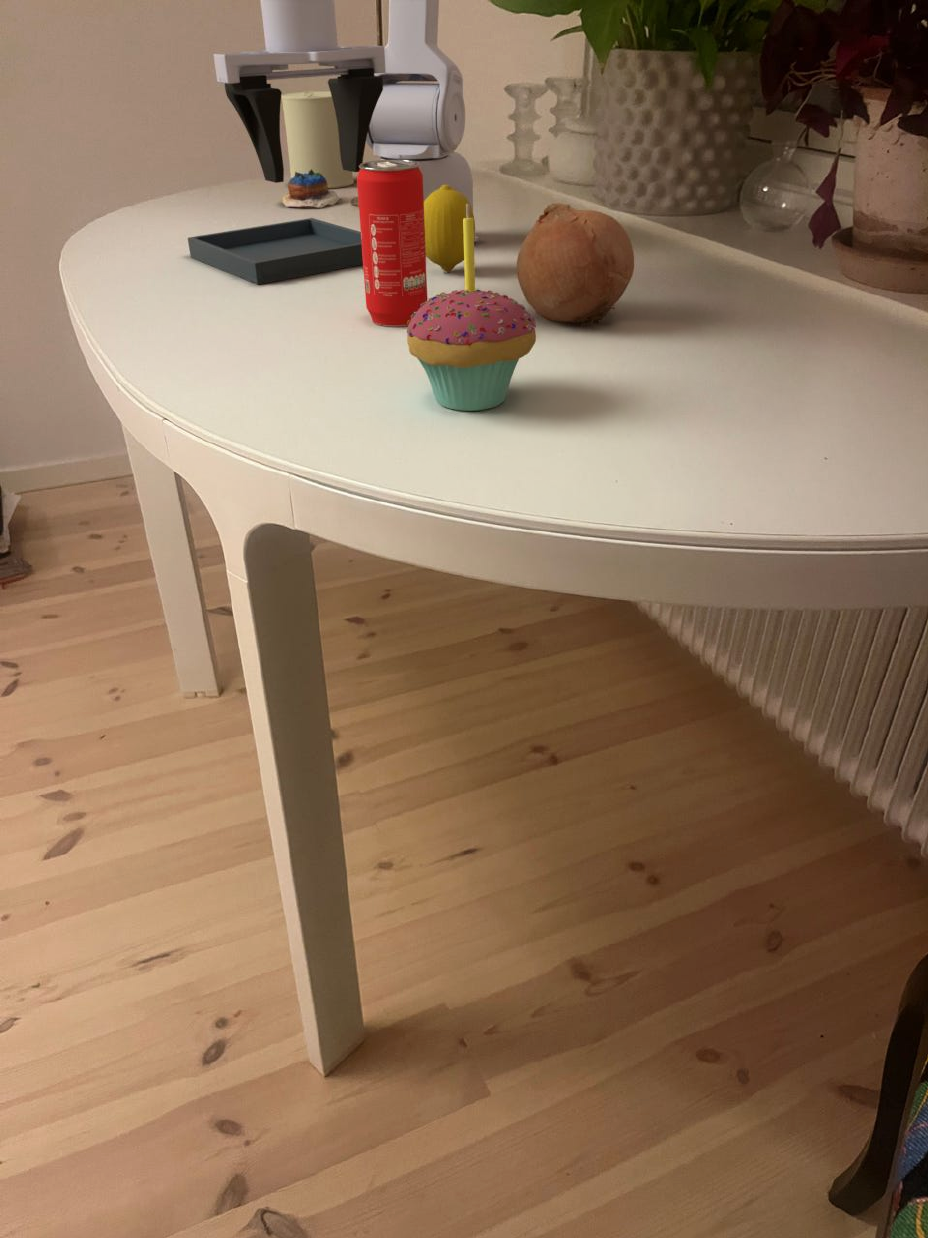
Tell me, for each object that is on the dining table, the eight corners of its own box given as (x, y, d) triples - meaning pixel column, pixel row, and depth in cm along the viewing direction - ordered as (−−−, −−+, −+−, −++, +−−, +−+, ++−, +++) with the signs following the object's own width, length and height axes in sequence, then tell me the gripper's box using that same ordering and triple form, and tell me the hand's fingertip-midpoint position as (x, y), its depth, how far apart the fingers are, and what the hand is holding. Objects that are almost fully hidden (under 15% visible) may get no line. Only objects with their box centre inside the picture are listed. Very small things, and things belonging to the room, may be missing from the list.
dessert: (290, 190, 129) (309, 152, 126) (330, 220, 131) (351, 183, 127) (269, 206, 123) (289, 166, 120) (312, 237, 125) (333, 199, 121)
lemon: (469, 279, 91) (468, 189, 86) (414, 278, 92) (410, 188, 87) (480, 265, 95) (479, 179, 91) (427, 264, 96) (424, 178, 92)
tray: (313, 236, 108) (312, 217, 107) (388, 259, 98) (387, 239, 97) (190, 257, 101) (187, 237, 100) (257, 284, 91) (254, 263, 90)
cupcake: (408, 380, 68) (398, 199, 61) (525, 374, 68) (529, 195, 61) (412, 426, 60) (402, 226, 54) (544, 419, 61) (550, 221, 54)
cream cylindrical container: (282, 188, 135) (271, 93, 129) (301, 178, 143) (292, 87, 136) (344, 189, 134) (336, 92, 127) (360, 178, 141) (354, 87, 135)
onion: (528, 351, 82) (483, 237, 79) (620, 307, 84) (580, 194, 81) (569, 341, 73) (520, 212, 70) (671, 293, 75) (628, 165, 72)
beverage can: (381, 331, 77) (371, 171, 71) (357, 315, 81) (345, 162, 75) (438, 321, 79) (433, 165, 73) (412, 307, 83) (405, 157, 77)
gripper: (233, -17, 67) (259, 191, 74) (402, -19, 74) (410, 171, 81) (191, -15, 71) (220, 181, 79) (354, -18, 79) (366, 162, 86)
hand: (314, 175), depth 80 cm, fingers open, 7 cm apart
